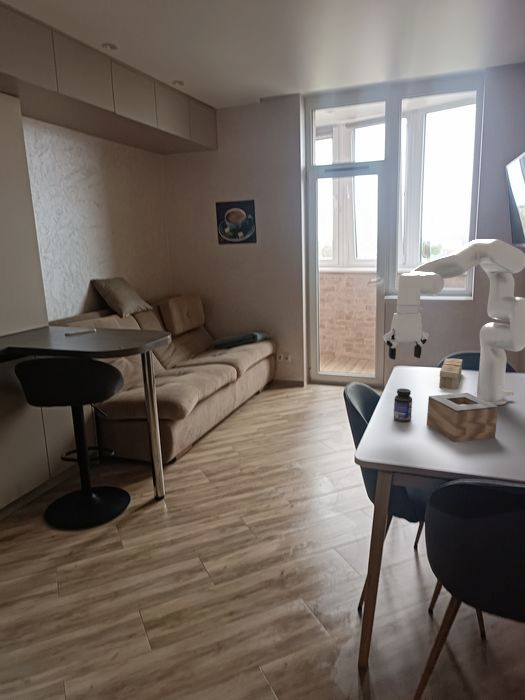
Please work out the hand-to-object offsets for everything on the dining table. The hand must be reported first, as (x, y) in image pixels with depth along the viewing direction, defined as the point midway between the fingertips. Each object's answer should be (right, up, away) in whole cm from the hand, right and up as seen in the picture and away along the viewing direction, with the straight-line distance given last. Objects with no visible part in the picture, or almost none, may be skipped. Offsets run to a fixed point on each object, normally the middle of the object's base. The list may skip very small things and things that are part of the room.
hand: (404, 358), depth 171 cm
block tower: (+37, -12, +54) cm, 66 cm away
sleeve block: (+17, -25, -7) cm, 30 cm away
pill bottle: (0, -23, +5) cm, 23 cm away
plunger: (+17, -18, -8) cm, 26 cm away
